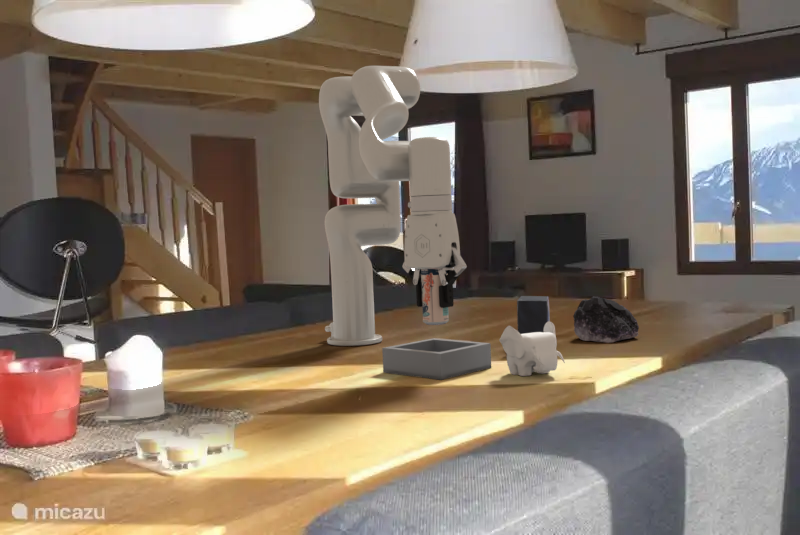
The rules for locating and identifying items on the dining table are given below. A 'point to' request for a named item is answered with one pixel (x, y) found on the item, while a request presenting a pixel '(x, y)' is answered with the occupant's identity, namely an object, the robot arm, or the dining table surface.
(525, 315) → the small box
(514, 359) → the elephant figurine
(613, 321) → the crystal cluster
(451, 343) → the tray
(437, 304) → the beer can
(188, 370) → the dining table surface
